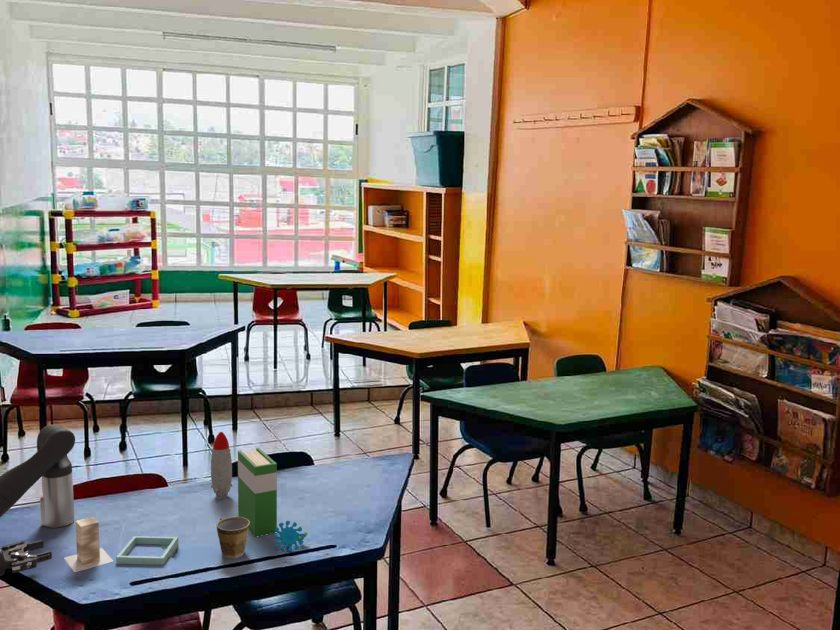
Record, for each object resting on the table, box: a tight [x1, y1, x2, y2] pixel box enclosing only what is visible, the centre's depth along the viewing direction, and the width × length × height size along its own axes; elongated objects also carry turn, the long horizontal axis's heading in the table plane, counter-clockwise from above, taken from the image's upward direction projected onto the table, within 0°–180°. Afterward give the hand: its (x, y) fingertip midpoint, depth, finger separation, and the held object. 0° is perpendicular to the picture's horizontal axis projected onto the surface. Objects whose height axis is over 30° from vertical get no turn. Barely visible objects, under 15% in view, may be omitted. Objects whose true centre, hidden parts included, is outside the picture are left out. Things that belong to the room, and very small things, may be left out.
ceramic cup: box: [216, 516, 250, 559], centre depth 231 cm, size 13×10×10 cm
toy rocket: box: [210, 431, 233, 500], centre depth 272 cm, size 8×8×25 cm
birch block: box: [75, 516, 101, 565], centre depth 220 cm, size 5×5×12 cm
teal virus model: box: [272, 520, 308, 553], centre depth 237 cm, size 11×6×10 cm
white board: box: [63, 547, 114, 573], centre depth 221 cm, size 11×11×2 cm
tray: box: [115, 535, 179, 566], centre depth 226 cm, size 14×14×4 cm
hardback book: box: [237, 447, 278, 538], centre depth 249 cm, size 18×7×24 cm, turn 31°
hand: (47, 549), depth 213 cm, fingers open, 8 cm apart
